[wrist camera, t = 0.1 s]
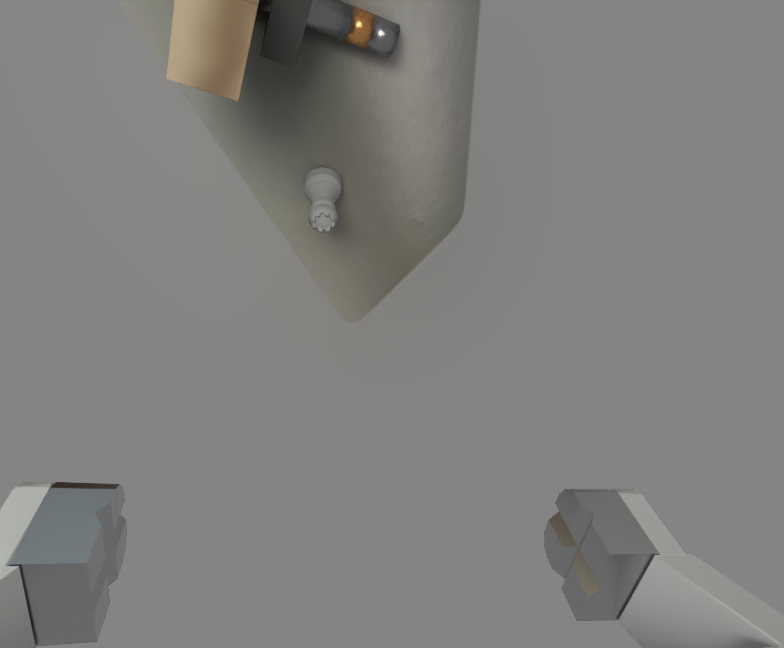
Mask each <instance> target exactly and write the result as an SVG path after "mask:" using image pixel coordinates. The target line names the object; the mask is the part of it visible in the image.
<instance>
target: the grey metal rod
mask: <svg viewBox="0 0 784 648" xmlns="http://www.w3.org/2000/svg"><path fill="white" fill-rule="evenodd" d="M271 4H272V0H259V5H258V9H261V10H264V11H266V12H269V13H270V8H271ZM306 27H308V28H311V29H314V30H316V31H319V32H322V33H324V34H327V35H329V36H332V37H335V38H337V39H340V40H343V41H345V42H348V43H351V44H353V45H356V46H359V47H361V48H364V49H366V50H369V51H372V52H374V53H377V54H380V55H382V56H385V57H388V58H390V57H391V55H392V53H393V51H394V49H395V46H396V43H397V40H398V36H399V31H400V25H399V24H397V23H394V22H392V21H389V20H387V19H384V18H382V17H379V16H377V15H374V14H372V13H369V12H367V11H365V10H362V9H360V8H357V7H355V6H352V5H350V4H347V3H345V2H342V1H340V0H313V1H312V5H311V9H310V12H309V16H308V20H307V24H306Z"/></svg>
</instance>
